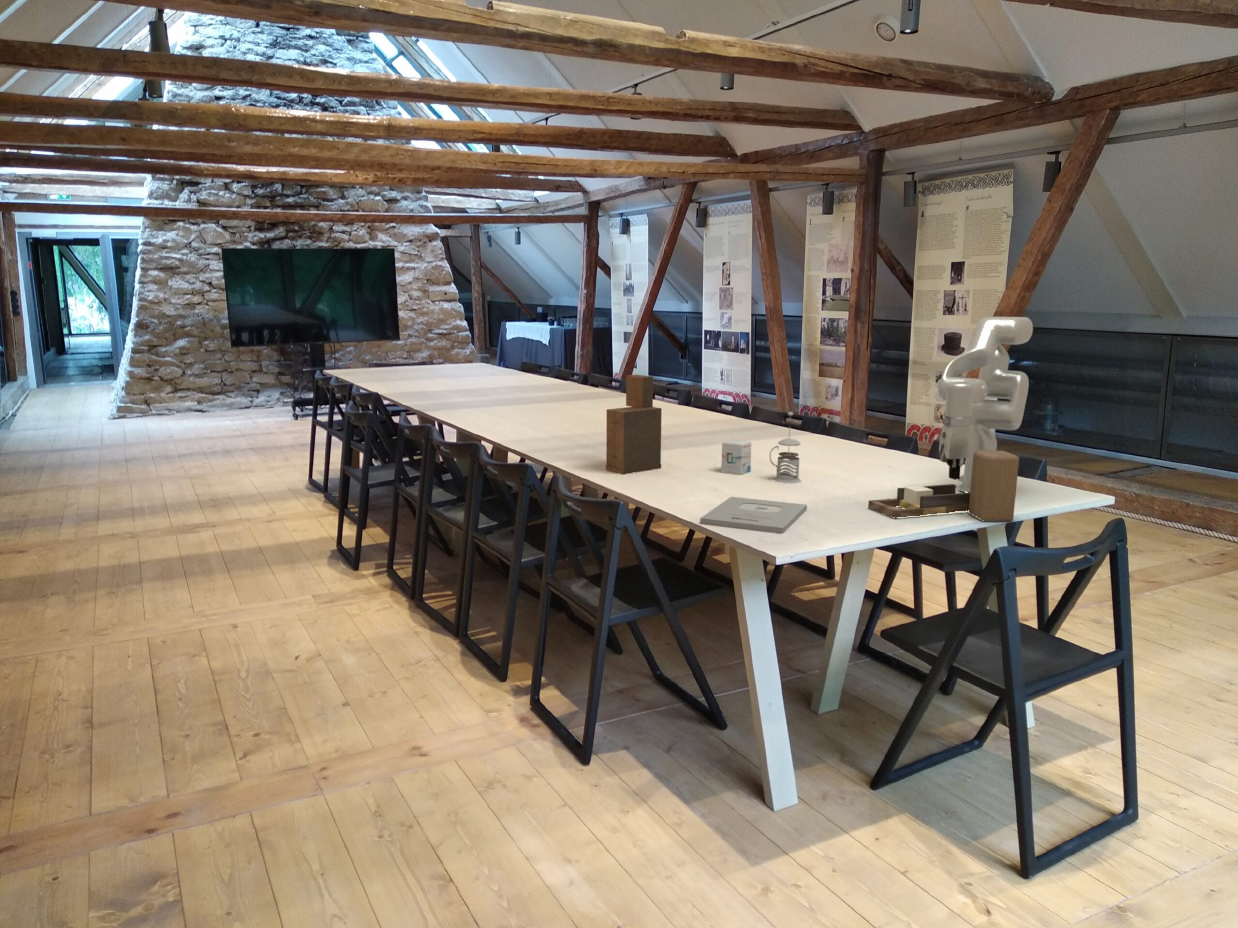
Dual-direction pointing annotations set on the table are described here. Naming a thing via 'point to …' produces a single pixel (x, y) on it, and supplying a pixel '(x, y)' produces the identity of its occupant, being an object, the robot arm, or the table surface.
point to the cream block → (916, 494)
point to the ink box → (736, 457)
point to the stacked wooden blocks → (634, 430)
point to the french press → (787, 461)
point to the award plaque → (754, 514)
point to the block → (993, 485)
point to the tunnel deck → (924, 502)
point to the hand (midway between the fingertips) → (954, 478)
